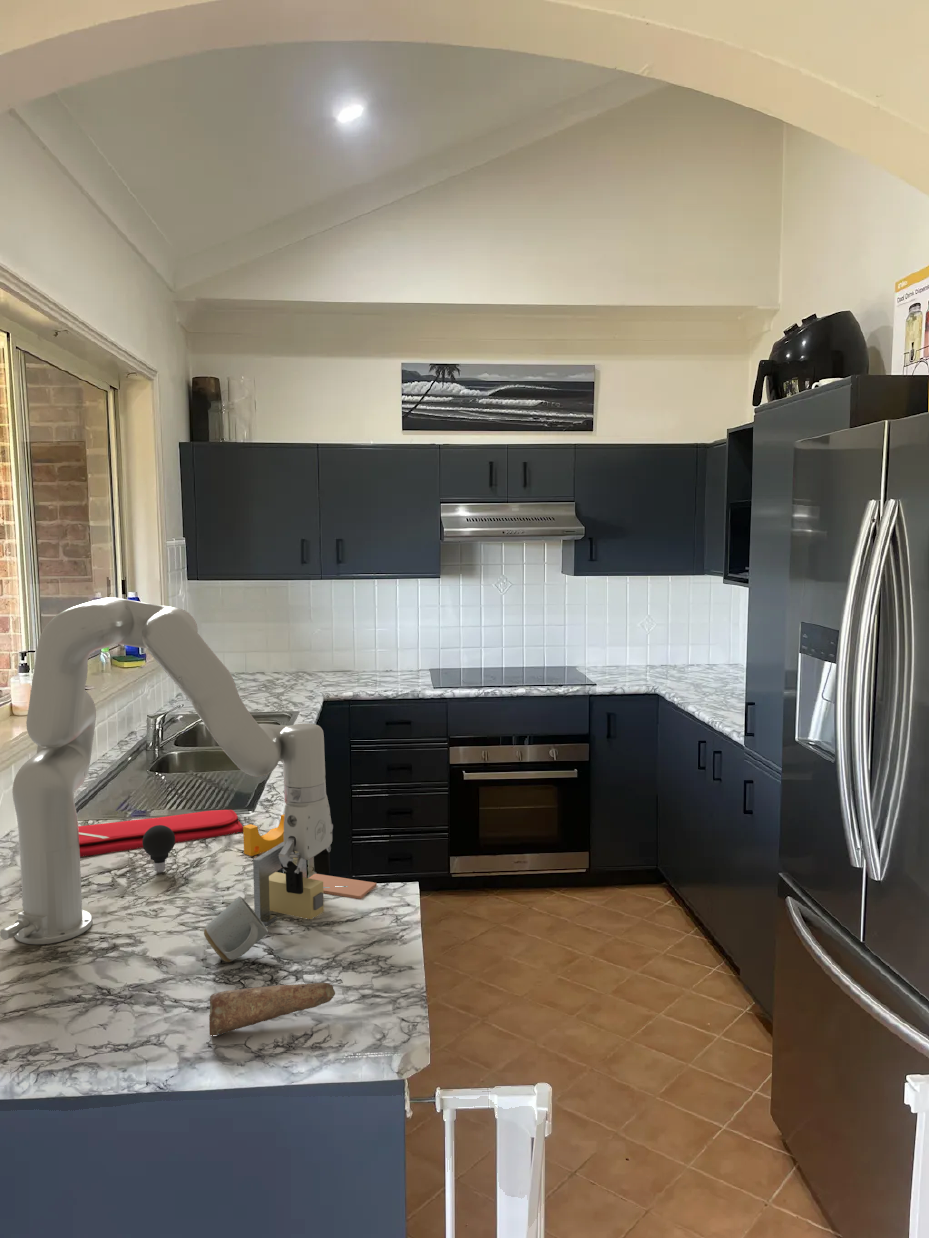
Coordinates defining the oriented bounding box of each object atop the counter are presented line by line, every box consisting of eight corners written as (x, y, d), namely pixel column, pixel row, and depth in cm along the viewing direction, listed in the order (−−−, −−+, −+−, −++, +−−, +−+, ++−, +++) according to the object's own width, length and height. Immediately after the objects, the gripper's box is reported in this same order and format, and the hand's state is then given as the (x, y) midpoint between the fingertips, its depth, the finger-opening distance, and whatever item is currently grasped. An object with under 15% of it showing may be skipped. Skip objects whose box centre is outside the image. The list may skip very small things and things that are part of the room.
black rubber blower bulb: (165, 864, 189) (163, 818, 188) (182, 872, 184) (180, 825, 184) (137, 873, 184) (135, 826, 183) (154, 881, 180) (152, 833, 179)
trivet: (360, 899, 171) (360, 896, 170) (296, 889, 175) (296, 886, 175) (376, 885, 177) (376, 882, 177) (314, 876, 182) (314, 873, 182)
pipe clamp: (283, 839, 205) (283, 811, 204) (295, 843, 202) (294, 815, 201) (239, 853, 196) (238, 824, 195) (251, 857, 193) (250, 828, 193)
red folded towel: (244, 835, 208) (244, 819, 208) (52, 864, 190) (51, 847, 190) (230, 816, 223) (230, 802, 222) (50, 841, 205) (49, 826, 204)
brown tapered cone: (204, 1025, 127) (203, 984, 126) (328, 999, 134) (327, 960, 133) (210, 1049, 121) (209, 1006, 120) (339, 1020, 128) (338, 979, 128)
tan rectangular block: (313, 921, 161) (312, 889, 161) (258, 909, 167) (257, 878, 166) (326, 913, 165) (325, 881, 164) (271, 901, 170) (270, 870, 170)
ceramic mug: (227, 963, 148) (200, 926, 149) (269, 930, 151) (242, 893, 152) (225, 970, 138) (196, 930, 139) (269, 935, 141) (240, 895, 142)
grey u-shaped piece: (267, 926, 159) (265, 861, 158) (248, 923, 160) (246, 858, 159) (313, 892, 174) (312, 833, 172) (295, 890, 175) (294, 830, 174)
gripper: (298, 808, 153) (302, 903, 155) (346, 780, 170) (349, 867, 171) (260, 804, 156) (265, 898, 158) (311, 777, 172) (315, 863, 174)
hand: (309, 882), depth 165 cm, fingers open, 9 cm apart
